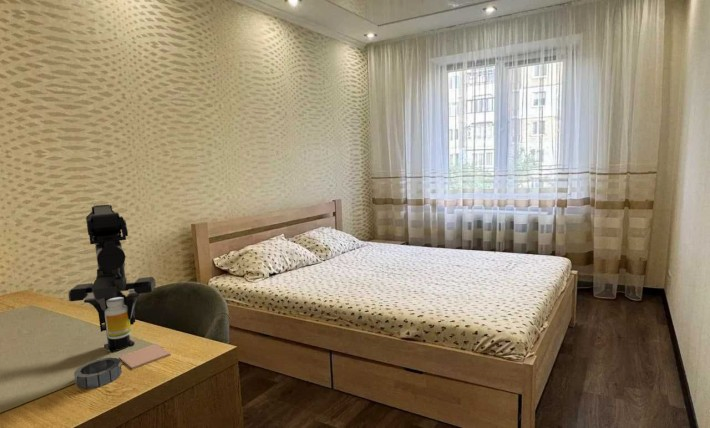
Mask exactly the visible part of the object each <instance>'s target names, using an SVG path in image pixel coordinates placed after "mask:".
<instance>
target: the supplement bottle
mask: <svg viewBox="0 0 710 428" xmlns="http://www.w3.org/2000/svg"><path fill="white" fill-rule="evenodd" d="M106 303H107V307H108V308H107V309H106V310H105V320H106V328H107V334H106V337H107V336H108V338H110V339H119V338H123V337H125V336H128V335H129V336H130V335H131V332H132V328H131V326H132V325H130V319H129V318H128V307H127V306H126V305H124V298H123V297H116V298H112V299H109V300H107V301H106Z"/></svg>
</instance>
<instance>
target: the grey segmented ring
mask: <svg viewBox="0 0 710 428" xmlns="http://www.w3.org/2000/svg"><path fill="white" fill-rule="evenodd" d="M122 373H123V371H122V362H121V360H120V359H119V357H105V358H104V357H103V358H99V359H95V360H91V361H88V362H87V363H85V364H83V365H81V366H79V367H77V369H75V371H74V372H73V376H74V382H75V386H76V387H77V388H78V389H82V390H83V389H84V390H90V389H95V388H96V389H97V388H100V387H103V386H105V385H108V384H110V383H113V382H114V381H115V380H117V379H119V378H120V376H121V375H122Z"/></svg>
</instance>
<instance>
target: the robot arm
mask: <svg viewBox="0 0 710 428" xmlns="http://www.w3.org/2000/svg"><path fill="white" fill-rule="evenodd" d="M85 222H86V227H87V228H86V229H87V230H86V231H87V235H88V236H89V243H90V245H94V247H95V256H96V263H97V269H96V278H95V280H94V282H91V283H80V284H77V285H75V286H74V287H73V288H71V289H70V290H69V292H68V301H69V302H78V301H83V302H84V303H86V304H90V305H92V306H93V308H94V309H95V310H96V312H97V313H98V314H97V315H98V320H99V327H100V332H104V331H105V333H106V340H107V343H105V344H104V345H103V346H104V348H105V349H106V350H107V351H109V352H110V353H113V352H115V351H119V350H121V349H125V348H127V347H130V346H133V345H134V346H135V341H133V340H132V339H131V338H130V334H129V335H128V336H125V337H123V338H119V339H110V338H108V336H107V328H106V320H105V310H106V309H107V308H108V307H107V303H106V301H107V300H109V299H112V298H116V297H123V298H124V305H126V306H127V307H128V318H129V319H130V326H132V325H134V324H135V323H136V315H135V314H136V313H135V306H136V302H137V299H138V297H140V296H141V295H142V294H148V293H149V294H150V293H151V292H153V291H154V289H155V288H156V286H157V285H156V280H155V278H154V277H153V276H149V277H148V276H147V277H138V278H137V279H136V280H135V281H134V282H128V279H127V277H126V271H125V267H126V264H125V263H126V262H125V261H126V254H125V252H124V250H123V247H122V241H126V240H127V237H128V236H129V232H128V227H127V223H126V220H125V219H124V217H123V216H120V213H119V212H117V211H114V210H113V208H112V204H101V205H98V204H97V205H94V206H91V212H90V213H89V214H88V215H87V216H86V217H85ZM126 291H128V294H127V295H125V294H124V293H123V292H126Z"/></svg>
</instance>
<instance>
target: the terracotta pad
mask: <svg viewBox="0 0 710 428" xmlns="http://www.w3.org/2000/svg"><path fill="white" fill-rule="evenodd" d="M171 355H172V354H171V352H169V351H168V350H166V349H165V348H164V347H162V346H160V345H159V344H157V343H154V344H150V345H149V346H145V347H143V348H140V349H137V350H134V351H131V352H128V353H125V354H122V355H119V356H118V359H119V360H120V359H121V360H122V363H124V364H125V365H126V366H127V367H129V368H130V369H131V370H134V369H137V368H140V367H142V366H144V365H147V364H148V365H149V364H151V363H153V362H156V361H159V360H161V359H163V358H164V359H165V358H167V357H169V356H171ZM121 360H120V361H121Z"/></svg>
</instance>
